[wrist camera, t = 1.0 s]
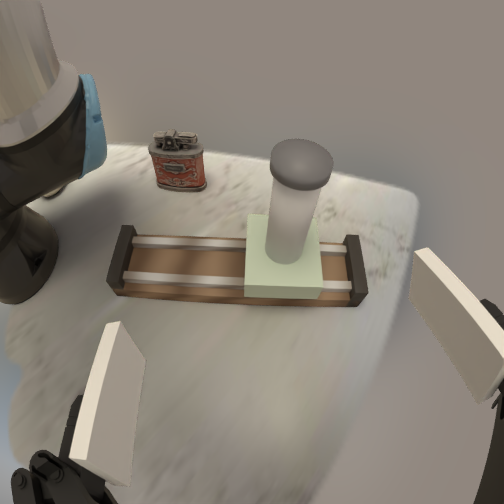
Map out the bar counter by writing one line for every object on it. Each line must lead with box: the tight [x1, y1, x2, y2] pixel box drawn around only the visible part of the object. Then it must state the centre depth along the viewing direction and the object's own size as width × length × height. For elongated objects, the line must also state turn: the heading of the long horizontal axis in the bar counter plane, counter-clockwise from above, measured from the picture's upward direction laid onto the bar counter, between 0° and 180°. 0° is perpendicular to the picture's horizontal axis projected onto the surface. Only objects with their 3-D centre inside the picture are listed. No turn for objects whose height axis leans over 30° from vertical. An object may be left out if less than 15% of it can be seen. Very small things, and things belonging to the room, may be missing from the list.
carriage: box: [244, 139, 333, 299], centre depth 29 cm, size 8×9×16 cm
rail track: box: [106, 225, 368, 307], centre depth 37 cm, size 30×8×4 cm, turn 88°
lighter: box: [148, 129, 207, 192], centre depth 42 cm, size 8×3×10 cm, turn 82°
